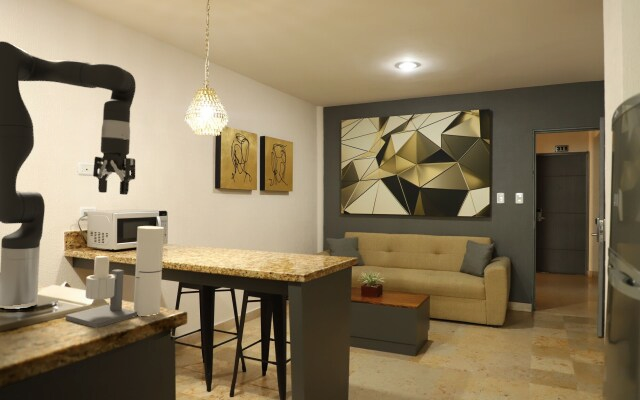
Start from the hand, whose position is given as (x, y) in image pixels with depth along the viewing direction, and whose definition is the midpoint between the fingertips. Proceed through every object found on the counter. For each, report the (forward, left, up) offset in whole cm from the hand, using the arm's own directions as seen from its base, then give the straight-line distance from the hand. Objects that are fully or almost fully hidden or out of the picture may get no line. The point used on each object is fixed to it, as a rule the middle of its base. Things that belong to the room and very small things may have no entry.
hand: (113, 193), depth 130 cm
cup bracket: (+5, -6, -34) cm, 35 cm away
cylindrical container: (+11, +4, -34) cm, 36 cm away
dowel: (+5, -7, -27) cm, 28 cm away
